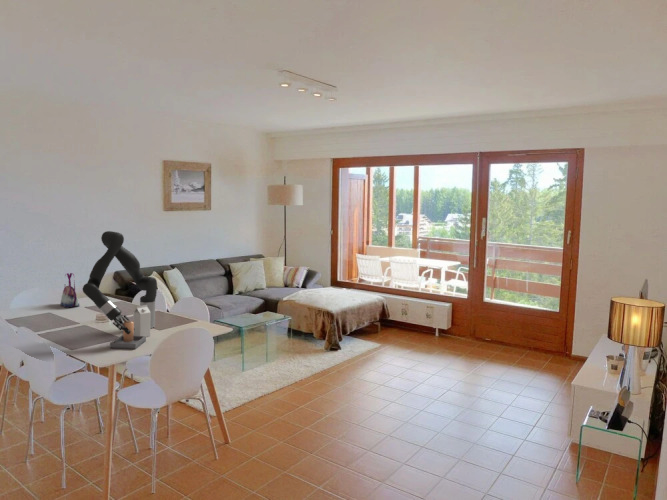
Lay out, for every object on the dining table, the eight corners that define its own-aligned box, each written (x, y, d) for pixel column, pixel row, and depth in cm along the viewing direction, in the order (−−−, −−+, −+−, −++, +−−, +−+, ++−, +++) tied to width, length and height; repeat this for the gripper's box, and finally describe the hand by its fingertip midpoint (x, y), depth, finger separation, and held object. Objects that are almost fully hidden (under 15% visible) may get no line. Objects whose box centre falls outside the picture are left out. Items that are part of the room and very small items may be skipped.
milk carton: (133, 336, 298) (133, 305, 296) (143, 333, 304) (143, 303, 302) (140, 338, 294) (140, 307, 292) (150, 336, 300) (150, 305, 298)
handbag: (82, 307, 365) (82, 274, 363) (68, 309, 358) (68, 275, 355) (71, 302, 379) (71, 270, 377) (57, 304, 372) (57, 272, 369)
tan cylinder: (125, 339, 283) (125, 320, 282) (135, 339, 284) (135, 320, 283) (121, 341, 278) (121, 322, 277) (131, 342, 278) (131, 323, 277)
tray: (121, 340, 289) (122, 335, 289) (145, 341, 289) (145, 336, 289) (110, 348, 273) (110, 343, 273) (135, 349, 273) (135, 344, 273)
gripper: (110, 308, 271) (131, 330, 273) (120, 303, 286) (141, 324, 287) (100, 317, 272) (121, 339, 273) (111, 312, 286) (131, 332, 288)
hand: (131, 331), depth 280 cm, fingers closed on tan cylinder, 5 cm apart
